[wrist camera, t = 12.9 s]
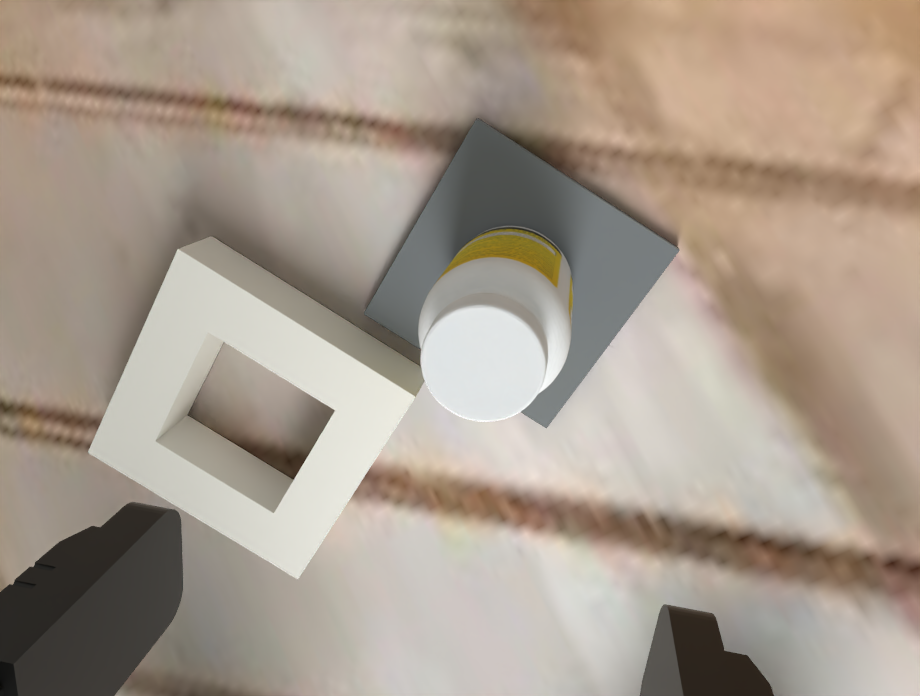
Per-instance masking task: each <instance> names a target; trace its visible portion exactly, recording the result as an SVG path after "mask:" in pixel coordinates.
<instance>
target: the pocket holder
mask: <svg viewBox="0 0 920 696" xmlns="http://www.w3.org/2000/svg"><path fill="white" fill-rule="evenodd" d="M224 342H225V343H227V344H228V345H230V346H231V347H233V348H235V349H236V350H238V351H240V352H241V353H243V354H244V355H246V356H248V357H249V358H251V359H252V360H254V361H256V362H257V363H259V364H261V365H262V366H264V367H265V368H267V369H269V370H270V371H272V372H274V373H275V374H277V375H278V376H280V377H282V378H283V379H285V380H286V381H288V382H290V383H291V384H293V385H295V386H296V387H298V388H299V389H301V390H303V391H304V392H306V393H308V394H309V395H311V396H312V397H314V398H316V399H317V400H319V401H320V402H322V403H324V404H325V405H327V406H329V407H330V408H332V409H333V410H335V412H334V413H333V415H332V417H331V418H330V420H329V422H328V423H327V425H326V427H325V428H324V430H323V432H322V433H321V435H320V437H319V438H318V440H317V442H316V443H315V445H314V447H313V448H312V450H311V452H310V454H309V455H308V457H307V459H306V460H305V462H304V464H303V465H302V467H301V469H300V470H299V472H298V474H297V475H296V477H295V479H294V480H293V479H291V478H290V477H288V476H286V475H285V474H283V473H281V472H280V471H278V470H276V469H275V468H273V467H272V466H270V465H268V464H267V463H265V462H263V461H262V460H260V459H258V458H257V457H255V456H254V455H252V454H250V453H249V452H247V451H245V450H244V449H242V448H240V447H239V446H237V445H235V444H234V443H232V442H231V441H229V440H227V439H226V438H224V437H222V436H221V435H219V434H217V433H216V432H214V431H213V430H211V429H209V428H208V427H206V426H204V425H203V424H201V423H199V422H198V421H196V420H195V419H193V418H191V417H190V416H188V413H189V411H190V409H191V407H192V405H193V403H194V401H195V399H196V397H197V395H198V393H199V391H200V389H201V387H202V385H203V383H204V381H205V379H206V377H207V375H208V373H209V371H210V369H211V367H212V365H213V363H214V361H215V359H216V357H217V355H218V353H219V351H220V349H221V347H222V345H223V343H224ZM424 381H425V380H424V378H423V374H422V370H421V367H420V366H419V365H417V364H416V363H414V362H412V361H411V360H409V359H408V358H406V357H404V356H403V355H401V354H400V353H398V352H396V351H395V350H393V349H392V348H390V347H388V346H387V345H385V344H384V343H382V342H380V341H379V340H377V339H376V338H374V337H372V336H371V335H369V334H368V333H366V332H364V331H363V330H361V329H360V328H358V327H356V326H355V325H353V324H352V323H350V322H348V321H347V320H345V319H344V318H342V317H340V316H339V315H337V314H336V313H334V312H332V311H331V310H329V309H328V308H326V307H324V306H323V305H321V304H320V303H318V302H316V301H315V300H313V299H312V298H310V297H308V296H307V295H305V294H304V293H302V292H300V291H299V290H297V289H296V288H294V287H292V286H291V285H289V284H288V283H286V282H284V281H283V280H281V279H280V278H278V277H276V276H275V275H273V274H272V273H270V272H268V271H267V270H265V269H264V268H262V267H260V266H259V265H257V264H256V263H254V262H252V261H251V260H249V259H248V258H246V257H244V256H243V255H241V254H240V253H238V252H236V251H235V250H233V249H232V248H230V247H228V246H227V245H225V244H224V243H222V242H220V241H219V240H217V239H216V238H214V237H212V236H210V237H208V238H205V239H202V240H200V241H197V242H194V243H192V244H189V245H186V246H184V247H181V248H179V249H178V250H177V252H176V254H175V256H174V259H173V261H172V263H171V265H170V268H169V270H168V272H167V274H166V277H165V279H164V281H163V284H162V286H161V288H160V290H159V293H158V295H157V297H156V299H155V302H154V304H153V306H152V308H151V311H150V313H149V315H148V317H147V320H146V322H145V324H144V327H143V329H142V331H141V333H140V336H139V338H138V340H137V342H136V345H135V347H134V349H133V351H132V354H131V356H130V358H129V361H128V363H127V365H126V367H125V370H124V372H123V374H122V376H121V379H120V381H119V383H118V385H117V388H116V390H115V392H114V394H113V397H112V399H111V401H110V404H109V406H108V408H107V410H106V413H105V415H104V417H103V419H102V422H101V424H100V426H99V428H98V431H97V433H96V435H95V437H94V440H93V442H92V444H91V447H90V449H89V451H88V453H89V454H91V455H92V456H94V457H96V458H97V459H99V460H101V461H102V462H104V463H105V464H107V465H109V466H110V467H112V468H114V469H115V470H117V471H119V472H120V473H122V474H124V475H125V476H127V477H129V478H130V479H132V480H134V481H135V482H137V483H139V484H140V485H142V486H144V487H145V488H147V489H149V490H150V491H152V492H154V493H155V494H157V495H159V496H160V497H162V498H163V499H165V500H167V501H168V502H170V503H172V504H173V505H175V506H177V507H178V508H180V509H182V510H183V511H185V512H187V513H188V514H190V515H192V516H193V517H195V518H197V519H198V520H200V521H202V522H203V523H205V524H207V525H208V526H210V527H212V528H213V529H215V530H217V531H218V532H220V533H221V534H223V535H225V536H226V537H228V538H230V539H231V540H233V541H235V542H236V543H238V544H240V545H241V546H243V547H245V548H246V549H248V550H250V551H251V552H253V553H255V554H256V555H258V556H260V557H261V558H263V559H265V560H266V561H268V562H270V563H271V564H273V565H275V566H276V567H278V568H279V569H281V570H283V571H284V572H286V573H288V574H289V575H291V576H293V577H294V578H296V579H299V577H300V576H301V574H302V572H303V571H304V569H305V568H306V566H307V565H308V563H309V562H310V560H311V558H312V557H313V555H314V554H315V552H316V551H317V549H318V548H319V546H320V545H321V543H322V541H323V540H324V538H325V537H326V535H327V534H328V532H329V531H330V529H331V527H332V526H333V524H334V523H335V521H336V520H337V518H338V517H339V515H340V513H341V512H342V510H343V509H344V507H345V506H346V504H347V503H348V501H349V500H350V498H351V496H352V495H353V493H354V492H355V490H356V489H357V487H358V486H359V484H360V482H361V481H362V479H363V478H364V476H365V475H366V473H367V472H368V470H369V468H370V467H371V465H372V464H373V462H374V461H375V459H376V458H377V456H378V455H379V453H380V451H381V450H382V448H383V447H384V445H385V444H386V442H387V441H388V439H389V437H390V436H391V434H392V433H393V431H394V430H395V428H396V427H397V425H398V423H399V422H400V420H401V419H402V417H403V416H404V414H405V413H406V411H407V409H408V408H409V406H410V405H411V403H412V402H413V400H414V399H415V397H416V395H417V393H418V392H419V390H420V388H421V386H422V384H423V383H424Z"/></svg>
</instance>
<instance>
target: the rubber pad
mask: <svg viewBox="0 0 920 696" xmlns="http://www.w3.org/2000/svg"><path fill="white" fill-rule="evenodd" d="M501 226H519V227H525V228H529V229H532V230H535V231H537V232H539V233H541V234H542V235H544V236H546V237H547V238H548V239H550V240H551V241H552V242H553V243H554V244H555V245H556V246H557V247H558V248H559V249H560V251H561V252H562V253H563V255H564V256H565V258H566V260H567V262H568V264H569V267H570V270H571V274H572V280H573V307H572V325H571V341H570V347H569V352H568V355H567V358H566V361H565V363H564V365H563V367H562V369H561V371H560V372H559V374H558V376H557V377H556V378H555V379H554V381H553V382H552V383H551V384H550V385H549V386H548V387H547V388H545V389H544V390H543V391H542V392H540V393H539V394H538V395H537V396H536V398H535V399H534V400H533V401H532V402H531V403H530V404H529V405H528V406H527V407H526V408H525V409H524V410H522V411H521V413H523V414H524V415H526V416H528V417H529V418H531V419H532V420H534V421H535V422H537V423H539V424H540V425H542V426H543V427H545V428H547V427H548V426H549V424H550V423H551V422H552V420H553V419H554V418H555V416H556V415H557V414H558V412H559V411H560V410H561V408H562V407H563V406H564V404H565V403H566V402H567V400H568V399H569V398H570V396H571V395H572V394H573V392H574V391H575V390H576V388H577V387H578V386H579V384H580V383H581V382H582V380H583V379H584V378H585V376H586V375H587V374H588V372H589V371H590V370H591V368H592V367H593V366H594V364H595V363H596V362H597V360H598V359H599V358H600V356H601V355H602V353H603V352H604V351H605V349H606V348H607V347H608V345H609V344H610V343H611V341H612V340H613V339H614V337H615V336H616V335H617V333H618V332H619V331H620V329H621V328H622V327H623V325H624V324H625V323H626V321H627V320H628V319H629V317H630V316H631V315H632V313H633V312H634V311H635V309H636V308H637V307H638V305H639V304H640V303H641V301H642V300H643V299H644V297H645V296H646V295H647V293H648V292H649V291H650V289H651V288H652V287H653V285H654V284H655V283H656V281H657V280H658V279H659V277H660V276H661V275H662V273H663V272H664V271H665V269H666V268H667V267H668V265H669V264H670V263H671V261H672V260H673V258H674V257H675V256H676V254H677V253H678V252H679V248H678V247H677V246H675V245H674V244H672V243H671V242H669V241H667V240H666V239H664V238H663V237H661V236H660V235H658V234H657V233H655V232H653V231H652V230H650V229H649V228H647V227H646V226H644V225H643V224H641V223H640V222H638V221H636V220H635V219H633V218H632V217H630V216H629V215H627V214H626V213H624V212H623V211H621V210H619V209H618V208H616V207H615V206H613V205H612V204H610V203H609V202H607V201H605V200H604V199H602V198H601V197H599V196H598V195H596V194H595V193H593V192H592V191H590V190H588V189H587V188H585V187H584V186H582V185H581V184H579V183H578V182H576V181H575V180H573V179H571V178H570V177H568V176H567V175H565V174H564V173H562V172H561V171H559V170H558V169H556V168H554V167H553V166H551V165H550V164H548V163H547V162H545V161H544V160H542V159H540V158H539V157H537V156H536V155H534V154H533V153H531V152H530V151H528V150H527V149H525V148H523V147H522V146H520V145H519V144H517V143H516V142H514V141H513V140H511V139H510V138H508V137H506V136H505V135H503V134H502V133H500V132H499V131H497V130H496V129H494V128H493V127H491V126H489V125H488V124H486V123H485V122H483V121H482V120H480V119H479V118H477V119H476V120H475V122H474V124H473V125H472V127H471V129H470V131H469V132H468V134H467V136H466V137H465V139H464V141H463V143H462V144H461V146H460V148H459V150H458V151H457V153H456V155H455V157H454V158H453V160H452V162H451V163H450V165H449V167H448V169H447V170H446V172H445V174H444V176H443V177H442V179H441V181H440V182H439V184H438V186H437V188H436V189H435V191H434V193H433V195H432V196H431V198H430V200H429V202H428V203H427V205H426V207H425V208H424V210H423V212H422V214H421V215H420V217H419V219H418V221H417V222H416V224H415V226H414V228H413V229H412V231H411V233H410V234H409V236H408V238H407V240H406V241H405V243H404V245H403V247H402V248H401V250H400V252H399V253H398V255H397V257H396V259H395V260H394V262H393V264H392V266H391V267H390V269H389V271H388V273H387V274H386V276H385V278H384V279H383V281H382V283H381V285H380V286H379V288H378V290H377V292H376V293H375V295H374V297H373V298H372V300H371V302H370V304H369V305H368V307H367V309H366V311H365V312H364V314H365V315H366V316H368V317H369V318H371V319H373V320H374V321H376V322H377V323H379V324H381V325H382V326H384V327H385V328H387V329H389V330H390V331H392V332H393V333H395V334H397V335H398V336H400V337H401V338H403V339H405V340H406V341H408V342H409V343H411V344H413V345H414V346H416V347H417V348H419V349H420V350H421V348H420V344H419V336H418V326H419V318H420V314H421V310H422V307H423V304H424V302H425V300H426V298H427V296H428V294H429V292H430V290H431V289H432V287H433V286H434V285H435V283H436V282H437V280H438V279H439V278H440V276H441V275H442V274H443V272H444V271H445V270H446V268H447V267H448V266H449V264H450V263H451V262H452V260H453V259H454V258H455V256H456V255H457V253H458V252H459V251H460V250H461V248H462V247H463V246H464V245H465V244H466V243H468V242H469V241H470V240H471V239H473V238H474V237H476V236H477V235H479V234H480V233H482V232H484V231H486V230H489V229H492V228H496V227H501Z"/></svg>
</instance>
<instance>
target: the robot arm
mask: <svg viewBox="0 0 920 696" xmlns="http://www.w3.org/2000/svg"><path fill="white" fill-rule="evenodd" d="M182 591H183V566H182V535H181V519H180V515H179V513H178V512H177V511H176V510H173V509H167V508H162V507H157V506H152V505H146V504H141V503H136V502H131V503H129V504H127V505H125V506H124V507H123V508H122V509H121V510H120V511H118V512H117V513H116V514H115V515H114V516H113V517H112V518H111V519H109V520H108V521H107V522H106V523H105V524H104V525H103V526H102V527H101V528H100V527H95V526H91V527H89V528H87V529H85V530H83V531H81V532H79V533H77V534H75V535H73V536H71V537H68V538H66V539H64V540H62V541H60V542H59V543H58V544H56V545H55V546H54V547H53V548H52V549H51V550H49V551H48V552H47V553H46V554H45V555H43V556H42V557H41V558H40V559H39V560H38V561H36V562H35V565H34V567H29V568H28V569H27V570H26V571H25V572H23V573H22V574H21V575H20V576H19V577H18V578H16V579H15V582H14V584H13V585H10V584H9V585H8V586H7V587H6V588H5V589H3V590H2V591H1V592H0V696H114V695H115V694H116V693H117V691H118V690H119V689H120V687H121V686H122V685H123V684H124V682H125V681H126V680H127V678H128V677H129V676H130V675H131V673H132V672H133V671H134V670H135V668H136V667H137V666H138V664H139V663H140V662H141V661H142V659H143V658H144V657H145V655H146V654H147V653H148V652H149V650H150V649H151V648H152V646H153V645H154V644H155V643H156V641H157V640H158V639H159V638H160V636H161V635H162V634H163V632H164V631H165V630H166V629H167V627H168V626H169V625H170V623H171V622H172V620H173V618H174V616H175V614H176V612H177V610H178V607H179V604H180V601H181V597H182ZM640 696H774V695H773V692H772V689H771V686H770V684H769V683H768V681H767V680H766V679H765V678H764V676H763V675H762V674H761V672H760V671H759V670H758V669H757V667H756V666H755V665H754V664H753V662H752V661H751V660H750V658H749V657H748V656H747V655H742V654H737V653H732V652H727V651H724V647H723V643H722V639H721V636H720V632H719V628H718V624H717V621H716V618H715V616H714V615H713V614H712V613H707V612H702V611H697V610H692V609H686V608H681V607H676V606H671V605H663V606H662V608H661V610H660V613H659V617H658V621H657V625H656V628H655V632H654V636H653V640H652V644H651V648H650V652H649V656H648V660H647V664H646V668H645V672H644V676H643V681H642V686H641V693H640Z"/></svg>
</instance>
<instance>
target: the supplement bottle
mask: <svg viewBox="0 0 920 696" xmlns="http://www.w3.org/2000/svg"><path fill="white" fill-rule="evenodd" d="M572 307H573V280H572V274H571V270H570V267H569V264H568V262H567V260H566V258H565V256H564V255H563V253H562V252H561V251H560V249H559V248H558V247H557V246H556V245H555V244H554V243H553V242H552V241H551V240H550V239H548V238H547V237H546V236H544V235H542V234H541V233H539V232H537V231H535V230H532V229H529V228H525V227H519V226H501V227H496V228H492V229H489V230H486V231H484V232H482V233H480V234H479V235H477V236H476V237H474V238H473V239H471V240H470V241H469V242H468V243H466V244H465V245H464V246H463V247H462V248H461V250H460V251H459V252H458V253H457V255H456V256H455V258H454V259H453V260H452V262H451V263H450V264H449V266H448V267H447V268H446V270H445V271H444V272H443V274H442V275H441V276H440V278H439V279H438V280H437V282H436V283H435V285H434V286H433V287H432V289H431V290H430V292H429V294H428V296H427V298H426V300H425V302H424V304H423V307H422V310H421V314H420V318H419V326H418V336H419V344H420V348H421V356H420V361H421V370H422V374H423V378H424V380H425V383H426V385H427V387H428V389H429V391H430V392H431V394H432V395H433V396H434V398H435V399H436V400H437V401H438V402H439V403H440V404H441V405H442V406H443V407H445V408H446V409H447V410H449V411H450V412H452V413H454V414H456V415H457V416H460V417H462V418H465V419H469V420H473V421H480V422H491V421H499V420H503V419H507V418H509V417H512V416H514V415H516V414H518V413H519V412H521V411H522V410H524V409H525V408H526V407H527V406H528V405H529V404H530V403H531V402H532V401H533V400H534V399H535V398H536V396H537V395H538V394H539V393H540V392H542V391H543V390H544V389H545V388H547V387H548V386H549V385H550V384H551V383H552V382H553V381H554V379H555V378H556V377H557V376H558V374H559V372H560V371H561V369H562V367H563V365H564V363H565V361H566V358H567V355H568V352H569V347H570V341H571V325H572Z"/></svg>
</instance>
